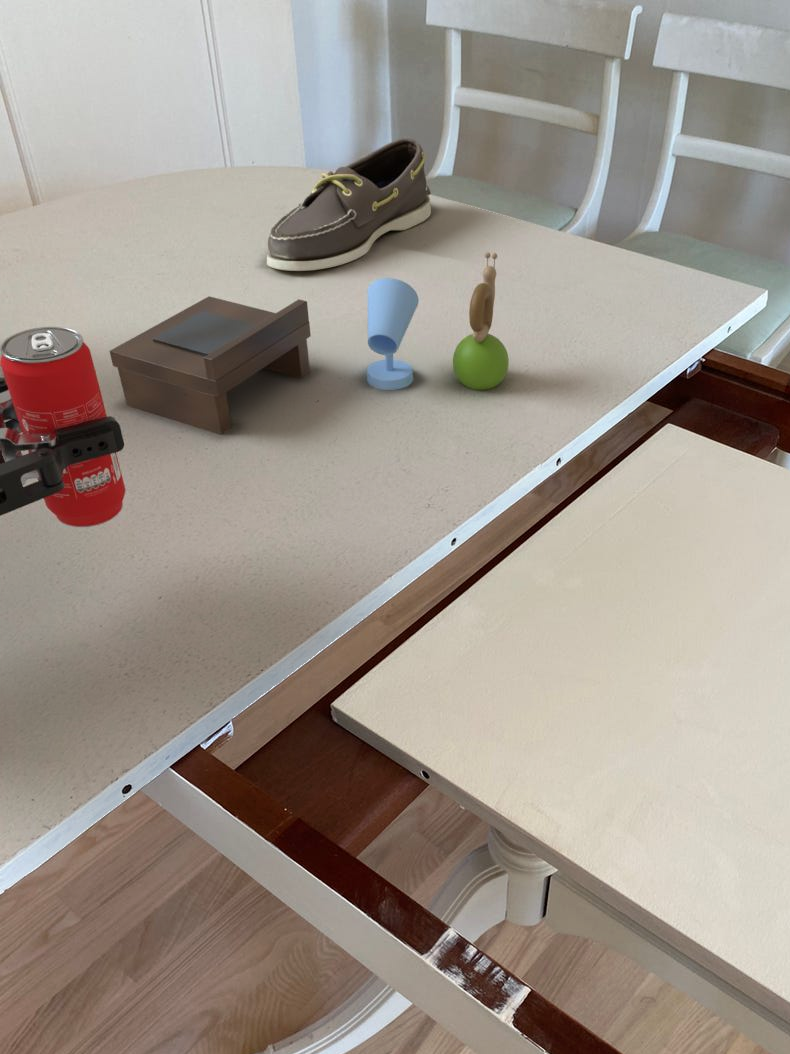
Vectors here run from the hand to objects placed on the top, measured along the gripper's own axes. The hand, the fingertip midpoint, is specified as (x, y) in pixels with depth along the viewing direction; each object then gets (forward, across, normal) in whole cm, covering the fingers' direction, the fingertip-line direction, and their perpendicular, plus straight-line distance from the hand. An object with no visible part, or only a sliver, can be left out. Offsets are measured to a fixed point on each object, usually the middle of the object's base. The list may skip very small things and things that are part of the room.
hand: (104, 413), depth 63 cm
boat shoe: (+46, -54, -14) cm, 72 cm away
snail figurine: (+38, -13, -14) cm, 43 cm away
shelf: (+16, -24, -14) cm, 32 cm away
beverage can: (-3, 0, -7) cm, 7 cm away
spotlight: (+31, -18, -14) cm, 38 cm away
